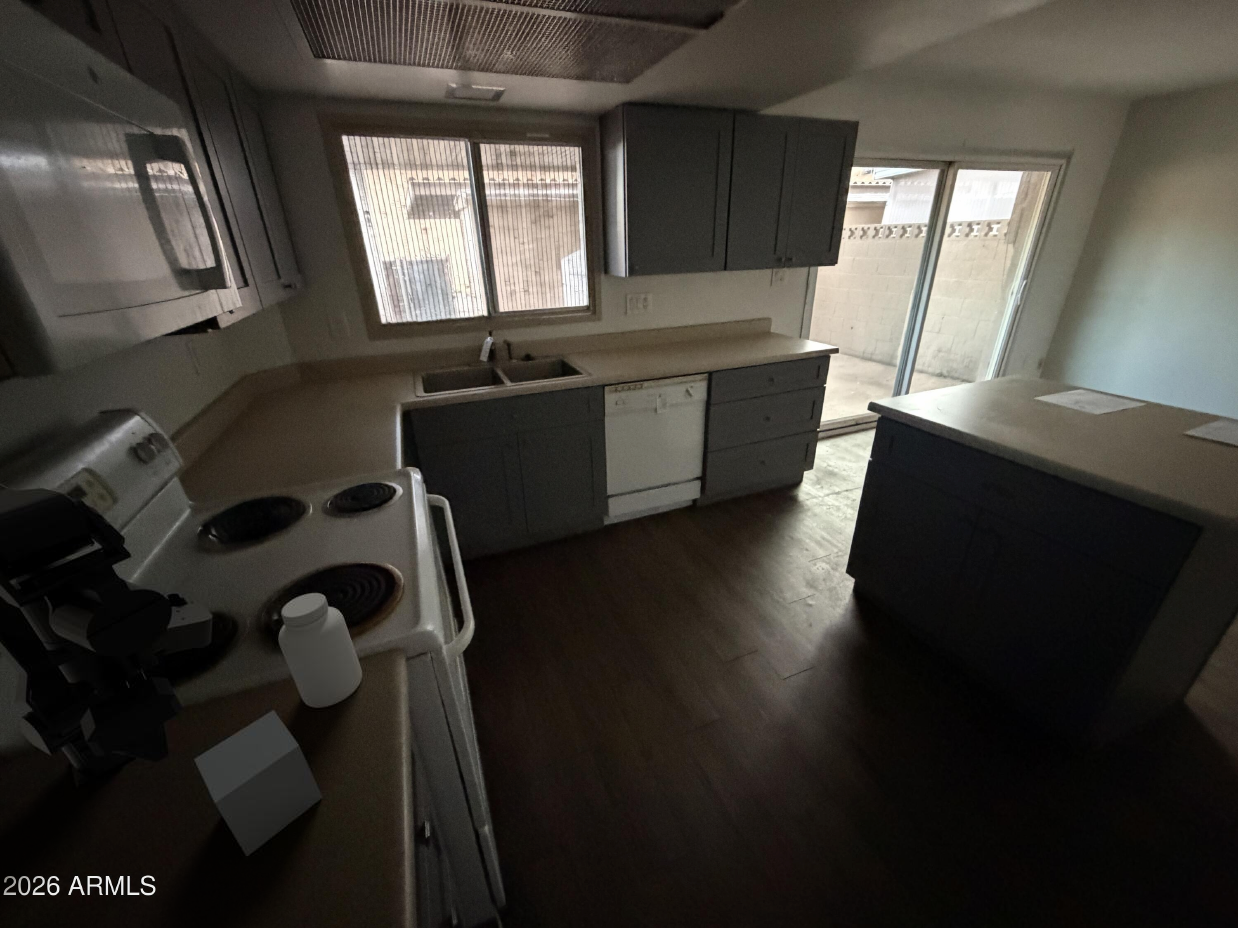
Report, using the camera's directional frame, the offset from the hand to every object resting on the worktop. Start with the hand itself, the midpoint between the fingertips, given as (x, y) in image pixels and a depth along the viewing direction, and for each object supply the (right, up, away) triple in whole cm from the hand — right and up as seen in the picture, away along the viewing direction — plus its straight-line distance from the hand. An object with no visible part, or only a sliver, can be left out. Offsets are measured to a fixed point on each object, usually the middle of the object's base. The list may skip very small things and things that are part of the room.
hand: (151, 734), depth 54 cm
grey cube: (+11, -10, +4) cm, 15 cm away
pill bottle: (+9, -4, +19) cm, 21 cm away
